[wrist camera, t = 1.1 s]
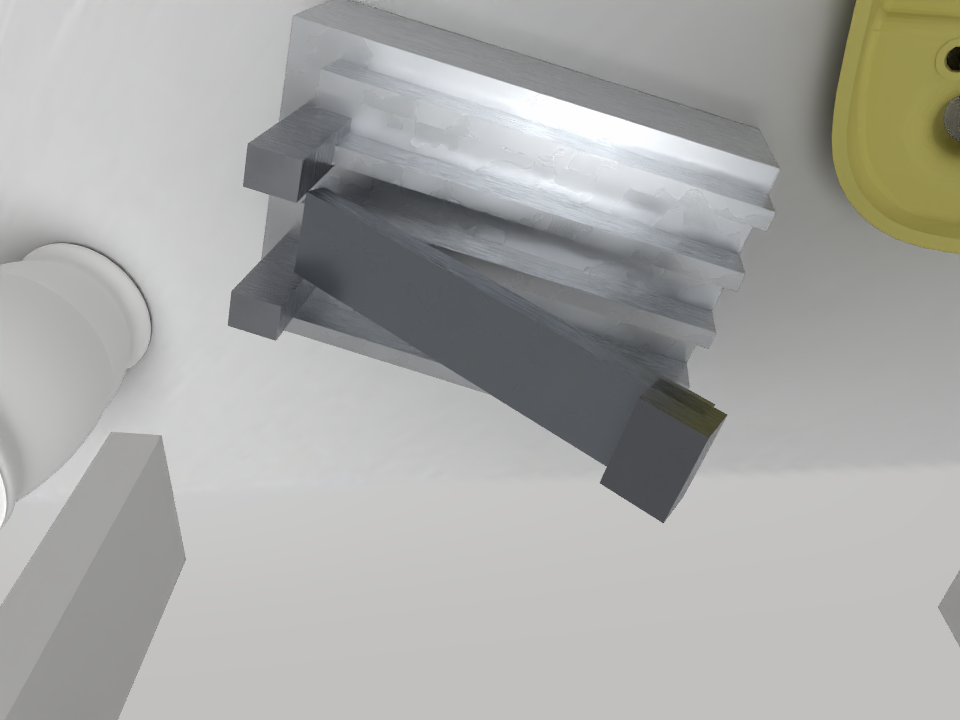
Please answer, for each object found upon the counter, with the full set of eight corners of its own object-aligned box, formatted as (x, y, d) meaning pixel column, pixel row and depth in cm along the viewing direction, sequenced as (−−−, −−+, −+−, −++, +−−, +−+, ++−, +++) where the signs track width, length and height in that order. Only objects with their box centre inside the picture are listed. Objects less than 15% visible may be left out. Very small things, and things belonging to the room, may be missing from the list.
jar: (180, 395, 50) (27, 572, 37) (23, 370, 51) (-178, 534, 38) (158, 236, 44) (-30, 379, 32) (-17, 211, 45) (-268, 340, 33)
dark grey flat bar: (311, 266, 34) (275, 279, 32) (324, 187, 32) (287, 195, 30) (684, 494, 27) (663, 523, 26) (729, 412, 26) (708, 438, 24)
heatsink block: (758, 128, 37) (810, 224, 26) (646, 374, 44) (652, 523, 34) (338, -4, 37) (228, 41, 26) (296, 265, 44) (198, 381, 34)
